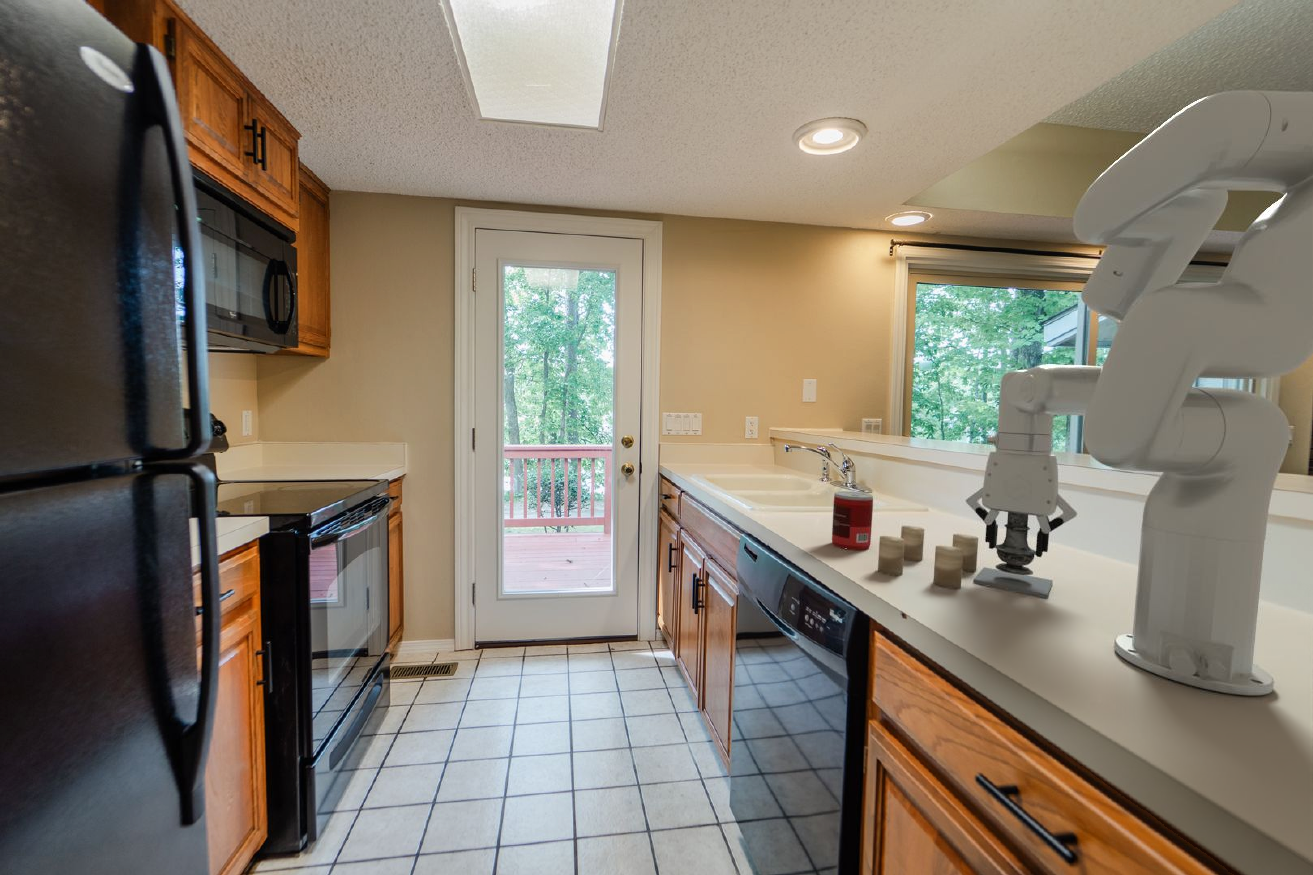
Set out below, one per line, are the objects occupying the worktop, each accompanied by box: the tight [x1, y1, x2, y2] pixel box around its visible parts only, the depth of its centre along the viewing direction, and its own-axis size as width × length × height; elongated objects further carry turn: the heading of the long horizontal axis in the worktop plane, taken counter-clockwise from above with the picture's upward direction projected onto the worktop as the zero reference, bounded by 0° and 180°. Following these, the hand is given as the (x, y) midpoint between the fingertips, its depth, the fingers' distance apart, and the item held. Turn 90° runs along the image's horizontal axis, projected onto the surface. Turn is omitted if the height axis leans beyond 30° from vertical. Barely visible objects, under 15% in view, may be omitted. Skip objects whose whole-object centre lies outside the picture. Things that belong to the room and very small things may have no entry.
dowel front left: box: [877, 535, 905, 577], centre depth 92 cm, size 4×4×6 cm
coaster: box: [972, 566, 1053, 599], centre depth 88 cm, size 10×10×1 cm
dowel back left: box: [900, 525, 925, 562], centre depth 102 cm, size 4×4×6 cm
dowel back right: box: [951, 533, 979, 573], centre depth 96 cm, size 4×4×6 cm
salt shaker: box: [994, 512, 1036, 576], centre depth 88 cm, size 6×6×12 cm
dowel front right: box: [933, 545, 963, 589], centre depth 86 cm, size 4×4×6 cm
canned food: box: [831, 490, 874, 551], centre depth 110 cm, size 8×8×11 cm
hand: (1015, 550), depth 88 cm, fingers closed on salt shaker, 5 cm apart
